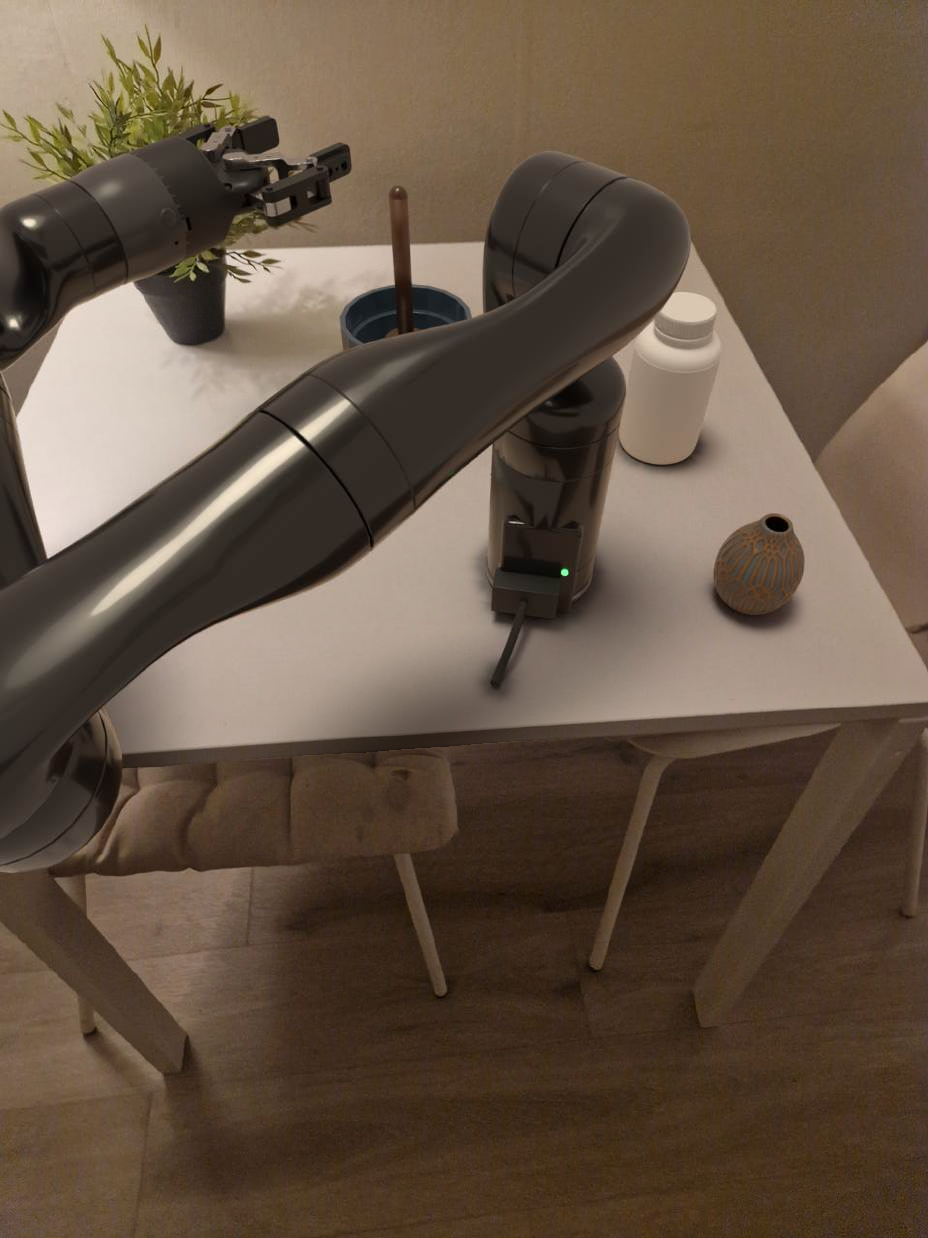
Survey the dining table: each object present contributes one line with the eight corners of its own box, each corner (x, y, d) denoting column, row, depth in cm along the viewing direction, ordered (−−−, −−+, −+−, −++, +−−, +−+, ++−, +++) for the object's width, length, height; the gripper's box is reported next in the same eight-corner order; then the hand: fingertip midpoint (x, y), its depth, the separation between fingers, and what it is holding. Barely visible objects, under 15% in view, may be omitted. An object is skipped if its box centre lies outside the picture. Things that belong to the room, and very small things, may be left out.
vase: (728, 635, 66) (759, 562, 59) (691, 576, 70) (716, 501, 63) (802, 618, 67) (841, 545, 60) (762, 561, 71) (794, 486, 64)
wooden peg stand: (424, 376, 88) (417, 198, 73) (382, 372, 89) (366, 194, 74) (432, 352, 91) (427, 176, 76) (391, 348, 92) (378, 173, 77)
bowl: (459, 410, 85) (459, 360, 81) (331, 396, 87) (324, 347, 82) (479, 338, 94) (480, 289, 89) (363, 326, 95) (358, 278, 91)
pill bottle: (604, 426, 84) (628, 290, 72) (673, 412, 85) (707, 277, 73) (637, 473, 79) (668, 336, 67) (709, 458, 80) (752, 322, 69)
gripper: (107, 234, 63) (261, 168, 71) (223, 293, 57) (377, 214, 65) (71, 130, 57) (243, 70, 65) (196, 184, 52) (369, 112, 59)
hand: (310, 142), depth 65 cm, fingers open, 8 cm apart
